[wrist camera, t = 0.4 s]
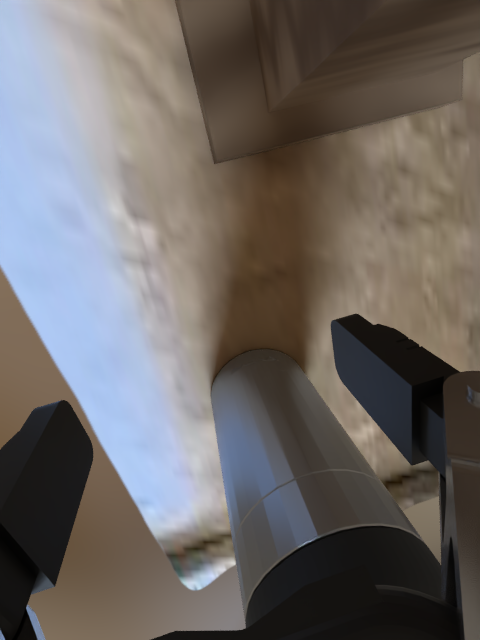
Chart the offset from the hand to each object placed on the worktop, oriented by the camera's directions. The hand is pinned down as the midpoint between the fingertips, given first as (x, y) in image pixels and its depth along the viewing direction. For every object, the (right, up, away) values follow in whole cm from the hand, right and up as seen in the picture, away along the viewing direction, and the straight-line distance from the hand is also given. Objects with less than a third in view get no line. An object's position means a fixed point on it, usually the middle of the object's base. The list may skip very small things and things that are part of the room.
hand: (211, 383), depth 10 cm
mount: (+6, +20, +12) cm, 25 cm away
